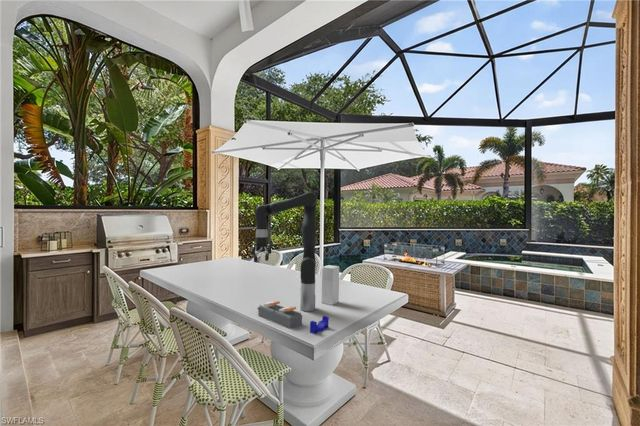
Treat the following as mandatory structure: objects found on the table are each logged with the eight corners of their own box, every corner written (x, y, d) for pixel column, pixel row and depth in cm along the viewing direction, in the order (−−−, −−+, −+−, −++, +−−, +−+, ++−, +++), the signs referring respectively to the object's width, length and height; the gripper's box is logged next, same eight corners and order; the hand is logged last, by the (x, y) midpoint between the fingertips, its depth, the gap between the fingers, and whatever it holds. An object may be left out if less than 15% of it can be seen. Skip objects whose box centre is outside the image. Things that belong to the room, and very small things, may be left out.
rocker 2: (279, 311, 172) (278, 309, 172) (285, 309, 176) (285, 307, 176) (289, 311, 166) (289, 308, 166) (296, 308, 170) (296, 306, 170)
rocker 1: (263, 305, 181) (263, 303, 182) (270, 304, 185) (270, 302, 185) (273, 305, 176) (273, 303, 176) (279, 303, 179) (279, 301, 179)
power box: (252, 313, 186) (252, 303, 186) (264, 309, 192) (264, 300, 192) (290, 328, 163) (290, 317, 163) (302, 324, 170) (302, 313, 170)
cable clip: (321, 325, 169) (322, 314, 169) (328, 327, 166) (328, 316, 166) (307, 332, 159) (308, 320, 159) (314, 334, 156) (314, 322, 156)
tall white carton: (321, 302, 209) (322, 266, 209) (328, 299, 216) (328, 264, 216) (332, 305, 204) (333, 268, 204) (338, 302, 212) (339, 266, 211)
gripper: (266, 235, 203) (266, 259, 203) (249, 236, 192) (248, 261, 193) (274, 236, 198) (273, 260, 198) (256, 237, 187) (255, 263, 188)
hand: (261, 261), depth 195 cm, fingers open, 8 cm apart
